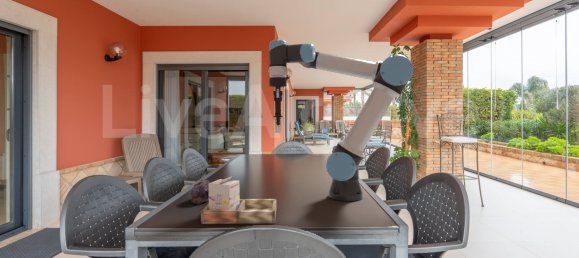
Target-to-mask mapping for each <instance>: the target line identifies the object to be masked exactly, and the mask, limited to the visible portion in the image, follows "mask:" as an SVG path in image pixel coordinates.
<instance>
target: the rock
mask: <svg viewBox="0 0 579 258" xmlns="http://www.w3.org/2000/svg"><path fill="white" fill-rule="evenodd" d="M209 183H211V181H209V180H208V179H201V180H198V181H197V182H196V183H194V185H193V187H192V190H191V192H190V198H191V203H192V204H194V205H200V204H202V203H204V202H209Z"/></svg>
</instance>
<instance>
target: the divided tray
mask: <svg viewBox="0 0 579 258" xmlns="http://www.w3.org/2000/svg"><path fill="white" fill-rule="evenodd" d="M276 215H277V198H240V206H239V208H238V210H209V203H208V204H207V205H206V206H205V207H204V208H203V209H202V210H201V211H200V224H201V225H202V224H203V225H205V224H206V225H210V224H211V225H213V224H214V225H215V224H217V225H218V224H220V225H221V224H222V225H224V224H225V225H227V224H231V225H233V224H234V225H235V224H276V217H277V216H276Z"/></svg>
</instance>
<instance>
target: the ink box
mask: <svg viewBox="0 0 579 258" xmlns="http://www.w3.org/2000/svg"><path fill="white" fill-rule="evenodd" d="M233 176H234V175H230V176H229V177H226V178H224V179H222V178H221V179H217V180H215V181H212V182H210V183H209V199H208V204H209V210H238V208H239V206H240V199H241V198H240V194H241V193H240V180H235V179H232V178H233Z"/></svg>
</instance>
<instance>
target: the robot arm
mask: <svg viewBox="0 0 579 258" xmlns="http://www.w3.org/2000/svg"><path fill="white" fill-rule="evenodd" d="M268 45H269V46H268V64H269V65H268V67H269V69H267V72H268V75H269V76H268V77H269V79H268V81H269V82H268V84H269V85H268V86H269V87H270V88H274V90H273V93H272V94H273V101H274V115H273V116H272V117H273V118H274V133H275V134H278V133H280V134H281V133H282V118H283V117H284V116H283V115H282V101H283V95H284V93H283V92H284V91H283V90H281V88H286V87H287V86H288V85H287V84H288V79H287V77H288V64H296V63H298V64H300V65H301V66H303V67H304V68H306V69H315V70H320V71H326V72H331V73H335V74H341V75H345V76H350V77H354V78H355V77H356V78H360V79H363V80H364V79H365V80H369V81H372V84H373V89H372V91H371V92H370V93H369V95H368V98H367V99H366V101H365V103H364V104H363V106H362V108H361V110H360V112H359V113H358V115H357V117H356V119H355V121H353V124H352V125H351V128H350V129H349V131H348V133H347V134H346V136H345V138H344V139H343V140H340V141H338V142H337V145H333V146H332V151H331V154H330V155H329V156H328V157H327V159H326V162H325V169H326V172H327V174H328V175H329V177H330V178H332V179H331V183H330V186H329V189H328V198H330V199H331V200H335V201H339V202H340V201H341V202H343V201H344V202H354V201H360V200H362V199H363V198H364V196H363V190H362V185H361V183H360V179H359V178H360V174H359V171H360V165H361V163H362V161H363V159H364V157H365V154H364V149H366V146H367V145H368V143H369V141H370V139H371V138H372V137H373V134H374V133H375V131H376V129H377V127H378V126H379V124H380V123H381V120H382V119H383V118H384V115H385V114H386V112H387V111H388V109H389V107H390V105H391V104H392V102H393V101H394V99H395V98H398V97H400V96H401V95H402V93H403V92H404V90H405V87H407V85H408V83H409V81H410V80H411V79H412V77H413V75H414V71H415V70H414V65H413V62H412V61H411V60H410V58H409V57H407V56H405V55H403V54H392V55H389V56H388V57H386V58H385V59H384V60H378V61H375V62H373V61H370V60H369V61H368V60H364V59H360V58H359V59H358V58H353V57H349V56H348V57H346V56H343V55H336V54H331V53H325V52H321V51H320V52H319V51H316V48H315V46H314V44H313V43H305V42H304V43H299V44H298V43H297V44H287V41H286V40H284V39H273V40H271V41H270V42H269V44H268Z"/></svg>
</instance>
